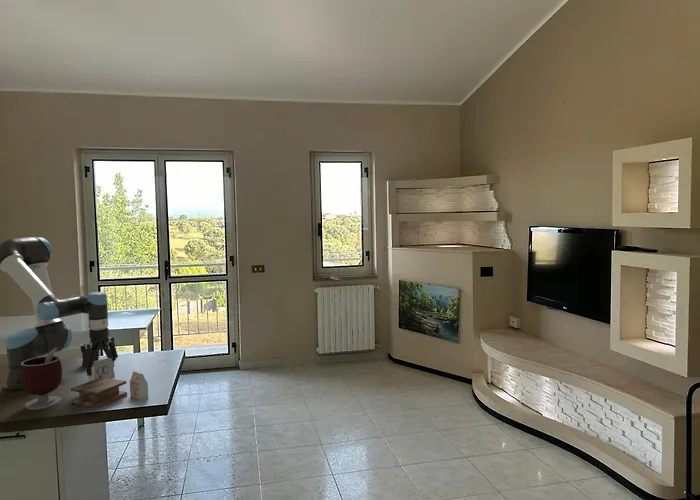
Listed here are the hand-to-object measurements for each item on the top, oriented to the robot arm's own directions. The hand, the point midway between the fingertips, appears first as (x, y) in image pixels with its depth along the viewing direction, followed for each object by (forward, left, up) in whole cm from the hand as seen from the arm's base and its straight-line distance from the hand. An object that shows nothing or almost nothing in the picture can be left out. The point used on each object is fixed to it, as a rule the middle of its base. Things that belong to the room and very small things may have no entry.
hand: (101, 378), depth 222 cm
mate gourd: (-2, -25, -2) cm, 25 cm away
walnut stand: (+16, -15, -2) cm, 22 cm away
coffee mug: (-29, +18, -2) cm, 34 cm away
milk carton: (+29, -7, -2) cm, 30 cm away
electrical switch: (0, 0, -1) cm, 1 cm away
